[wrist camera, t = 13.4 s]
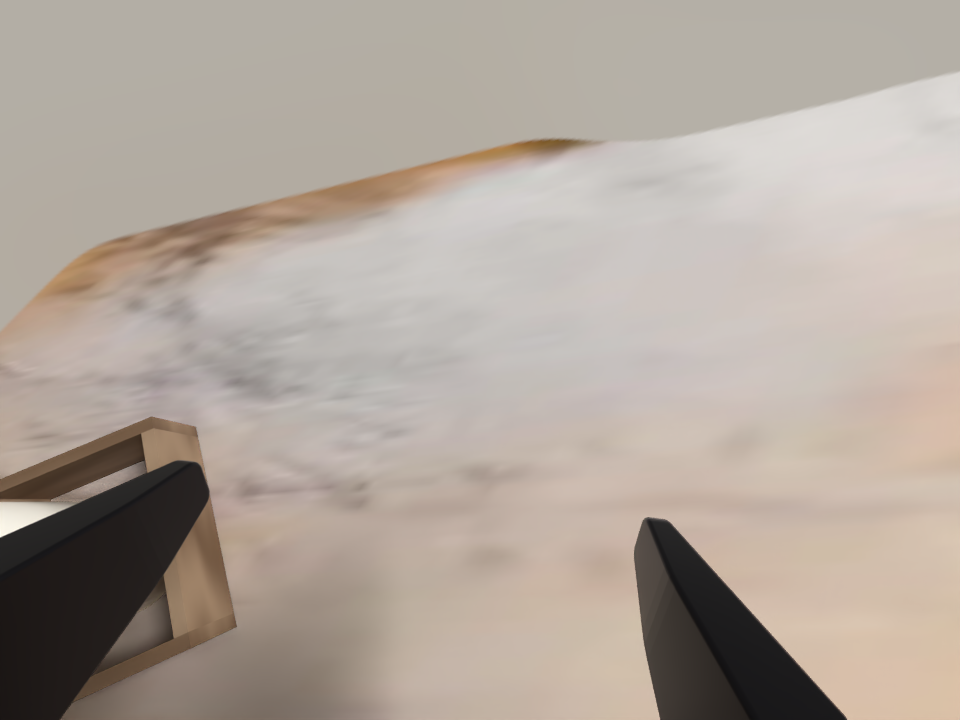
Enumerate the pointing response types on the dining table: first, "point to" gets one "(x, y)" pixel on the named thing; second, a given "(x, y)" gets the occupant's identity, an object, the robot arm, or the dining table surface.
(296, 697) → the dining table surface
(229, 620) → the walnut caddy
